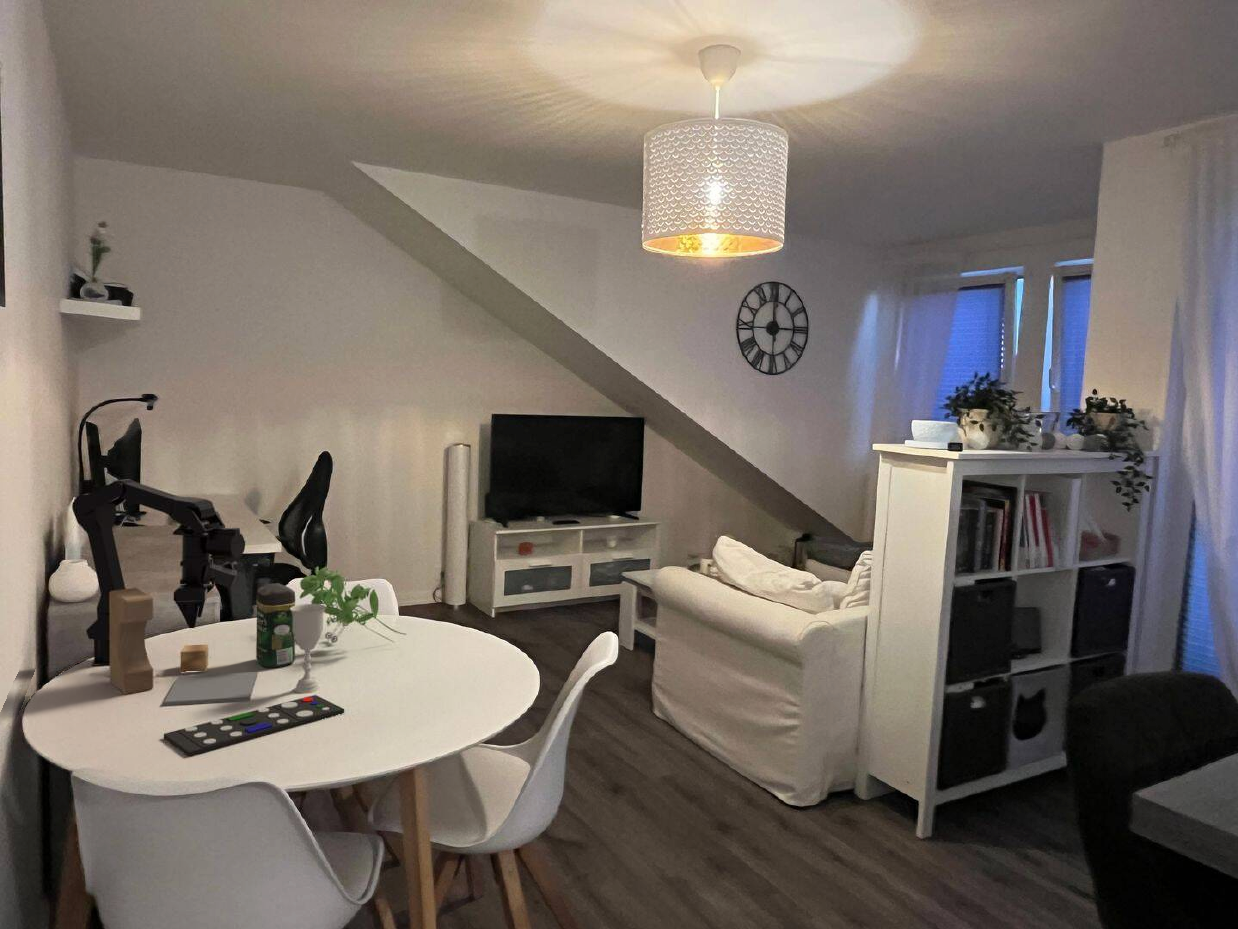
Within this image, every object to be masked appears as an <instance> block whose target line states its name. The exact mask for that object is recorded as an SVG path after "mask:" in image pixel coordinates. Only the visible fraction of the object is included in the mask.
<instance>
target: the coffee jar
mask: <svg viewBox="0 0 1238 929" xmlns="http://www.w3.org/2000/svg"><path fill="white" fill-rule="evenodd" d="M293 606H296V592H295V591H294V589H292V588H290V587H289V586H286V585H283V584H281V583H280V582H277V583H276V582H275V583H266V584H262V585H261V586H260V587H259V588H258V589H257V591H256V640H255V641H256V646H255V647H256V650H255V653H256V654H255V658H256V661H257V662H258V663H259V664H260V665H261V666H263V667H265V668H282V667H285V666H287V665H290V664H293V663H294V662H295V660H296V654H295V651H296V649H295V648H296V647H295V646H296V645H295V642H296V639H295V637H294V634H293V613H292V612H291V610H290V608H291V607H293Z"/></svg>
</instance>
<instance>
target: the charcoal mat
mask: <svg viewBox="0 0 1238 929" xmlns="http://www.w3.org/2000/svg"><path fill="white" fill-rule="evenodd" d="M257 675H258V671H253V672H252V671H249V672H232V673H230V672H229V673H213V674H212V673H211V674H207V673H206V674H194V675H193V674H191V675H189V674H188V675H178V677H177V679H176V681H175V682H174V684H173V685H172V688H170V691H169V692H168V694H167V696H166V697H165V700H164V701H163V706H166V707H167V706H179V705H180V706H182V705H195V704H196V705H197V704H214V703H229V702H243V701H244V702H245V701H247V702H248V701H250V700H251V697H252V695H253V691H254V688H255V684H256V682H257V678H258V676H257ZM255 681H256V682H255Z"/></svg>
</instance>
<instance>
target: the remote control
mask: <svg viewBox="0 0 1238 929" xmlns="http://www.w3.org/2000/svg"><path fill="white" fill-rule="evenodd" d="M342 713H344V714H345V708H343V707H341V706H339V705H337V704H335V703H333V702H330V701H329V700H326V699H325V698H323V697H321V696H319V695H317V694H314V695H310V696H305V697H302V698H297V699H294V700H290V701H286V702H281V703H278V704H274V705H270V706H266V707H262V708H259V709H254V710H251V711H247V712H244V713H240V714H236V715H232V716H227V717H224V718H220V719H216V720H213V721H209V722H204V723H201V724H196V725H193V726H188V727H185V728H181V729H177V730H173V731H170V732H165V733H163V739H164V740H165V741H166V742H168V743H169V744H171V745H172V746H173V747H175V748H176V749H178V750H179V751H180V752H181V753H183V754H185V755H186V756H187V757H188V758H193V757H194V756H198V755H202V754H206V753H209V752H212V751H213V752H214V751H216V750H217V751H218V750H221V749H224V748H227V747H230V746H234V745H238V744H240V743H241V744H242V743H244V742H248V741H252V740H254V739H259V738H262V737H266V736H269V735H272V734H276V733H279V732H283V731H287V730H290V729H293V728H297V727H301V726H304V725H308V724H312V723H316V722H318V721H323V720H325V718H326V719H329V718H333V717H337V716H339V715H338V714H340V715H343V714H342ZM336 715H337V716H336ZM332 716H333V717H332ZM322 719H323V720H322Z"/></svg>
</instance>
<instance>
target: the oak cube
mask: <svg viewBox="0 0 1238 929" xmlns="http://www.w3.org/2000/svg"><path fill="white" fill-rule="evenodd" d="M179 665H180V669H179V670H180V671H179V672H186V671H205V669H206V668H207V669H208V667H209V644H207V643H206V644H186V645H184V646H183V647H182V649H181V650H180V664H179ZM207 666H208V667H207ZM207 669H206V670H207ZM205 672H206V671H205Z"/></svg>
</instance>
